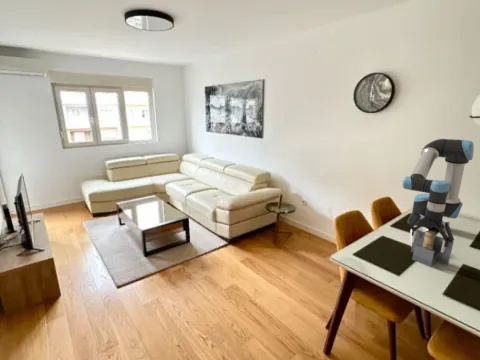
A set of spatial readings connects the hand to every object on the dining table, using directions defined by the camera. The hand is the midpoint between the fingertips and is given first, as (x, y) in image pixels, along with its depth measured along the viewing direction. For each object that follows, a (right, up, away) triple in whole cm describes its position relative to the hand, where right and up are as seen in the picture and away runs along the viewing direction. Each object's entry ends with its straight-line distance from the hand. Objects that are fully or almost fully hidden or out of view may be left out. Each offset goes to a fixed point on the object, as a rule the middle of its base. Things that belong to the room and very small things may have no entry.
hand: (427, 246), depth 143 cm
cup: (+6, -5, +17) cm, 19 cm away
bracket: (0, -8, +2) cm, 9 cm away
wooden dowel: (0, -6, +1) cm, 6 cm away
